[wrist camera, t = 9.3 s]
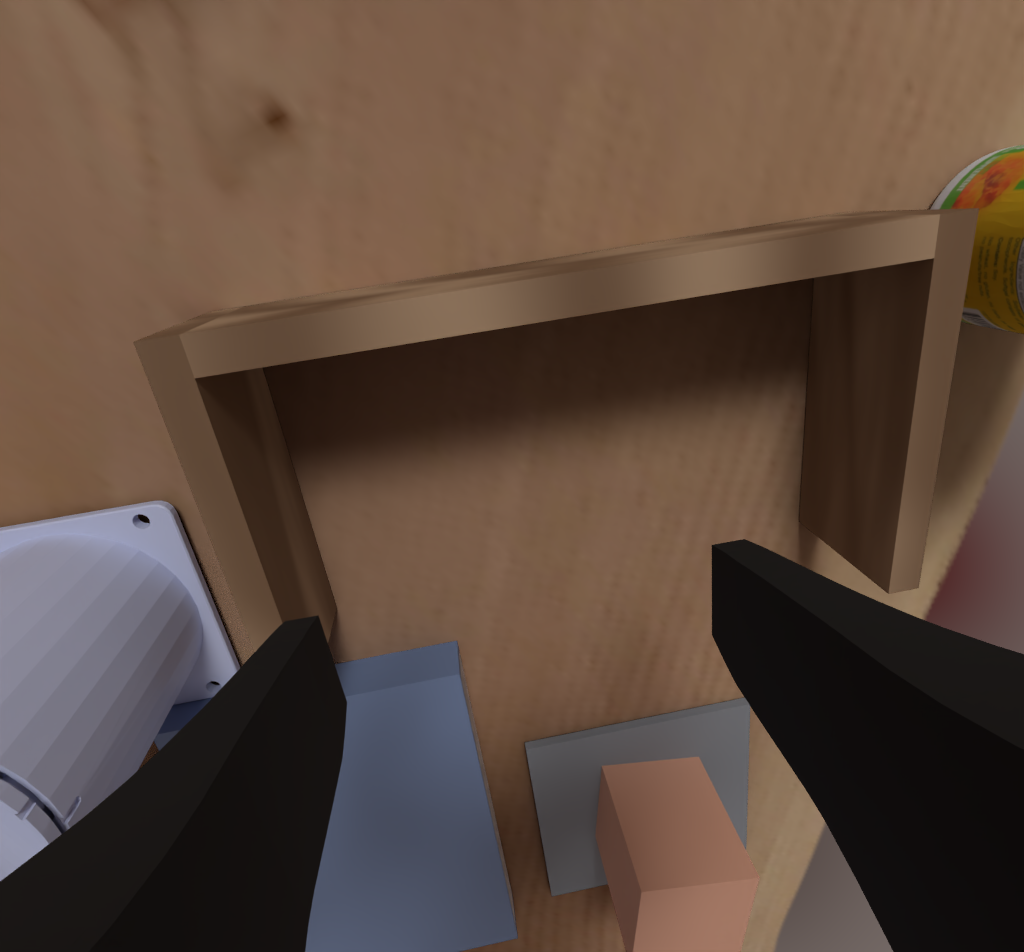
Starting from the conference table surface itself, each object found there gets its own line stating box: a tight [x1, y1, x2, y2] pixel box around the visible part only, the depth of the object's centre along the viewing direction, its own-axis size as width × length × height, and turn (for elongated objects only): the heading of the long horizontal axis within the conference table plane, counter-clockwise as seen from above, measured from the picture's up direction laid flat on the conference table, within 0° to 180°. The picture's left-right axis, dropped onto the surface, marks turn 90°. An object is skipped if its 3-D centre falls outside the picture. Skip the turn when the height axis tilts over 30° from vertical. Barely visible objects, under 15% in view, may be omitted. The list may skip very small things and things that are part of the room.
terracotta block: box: [595, 757, 760, 952], centre depth 25 cm, size 4×4×6 cm
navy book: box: [154, 641, 518, 952], centre depth 26 cm, size 16×11×2 cm
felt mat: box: [525, 698, 750, 896], centre depth 28 cm, size 10×10×1 cm
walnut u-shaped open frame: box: [133, 208, 979, 653], centre depth 18 cm, size 20×11×5 cm, turn 98°
